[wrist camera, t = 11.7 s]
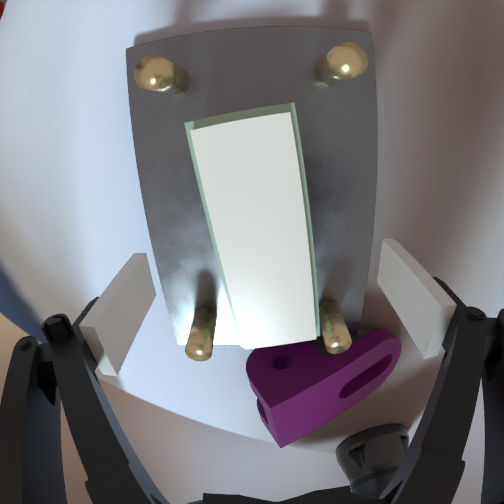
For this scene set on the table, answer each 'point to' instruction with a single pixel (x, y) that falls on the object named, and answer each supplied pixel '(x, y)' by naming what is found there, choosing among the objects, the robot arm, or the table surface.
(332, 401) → the mounting bracket
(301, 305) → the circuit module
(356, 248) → the chassis plate
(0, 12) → the plastic cup
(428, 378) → the table surface
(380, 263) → the robot arm
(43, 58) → the table surface
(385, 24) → the table surface
